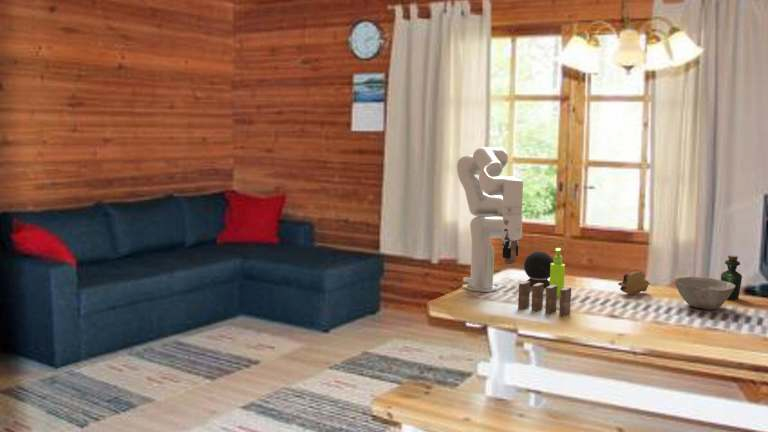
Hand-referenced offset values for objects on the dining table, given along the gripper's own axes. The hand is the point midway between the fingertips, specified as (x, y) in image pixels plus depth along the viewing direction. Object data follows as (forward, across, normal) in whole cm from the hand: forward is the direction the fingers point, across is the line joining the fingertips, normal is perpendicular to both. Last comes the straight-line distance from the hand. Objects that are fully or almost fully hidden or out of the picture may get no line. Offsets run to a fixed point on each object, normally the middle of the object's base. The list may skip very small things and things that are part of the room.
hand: (510, 256), depth 291 cm
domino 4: (+19, 0, -17) cm, 26 cm away
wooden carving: (+20, +51, -34) cm, 64 cm away
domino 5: (+19, 0, -23) cm, 30 cm away
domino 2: (+19, 0, -6) cm, 20 cm away
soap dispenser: (+20, +28, -9) cm, 35 cm away
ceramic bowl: (+20, +45, -63) cm, 80 cm away
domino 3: (+19, 0, -12) cm, 23 cm away
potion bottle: (+20, +69, -69) cm, 99 cm away
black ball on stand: (+20, +43, +5) cm, 48 cm away
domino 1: (+3, 0, 0) cm, 3 cm away
